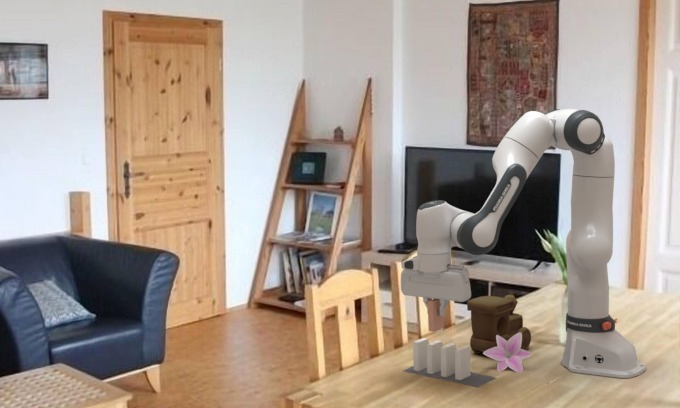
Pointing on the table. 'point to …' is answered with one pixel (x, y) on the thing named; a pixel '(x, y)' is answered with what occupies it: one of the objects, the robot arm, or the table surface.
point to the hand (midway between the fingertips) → (436, 314)
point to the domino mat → (472, 380)
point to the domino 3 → (434, 357)
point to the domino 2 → (434, 316)
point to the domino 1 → (420, 354)
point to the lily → (508, 353)
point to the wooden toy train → (495, 322)
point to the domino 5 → (462, 363)
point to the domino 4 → (448, 359)
